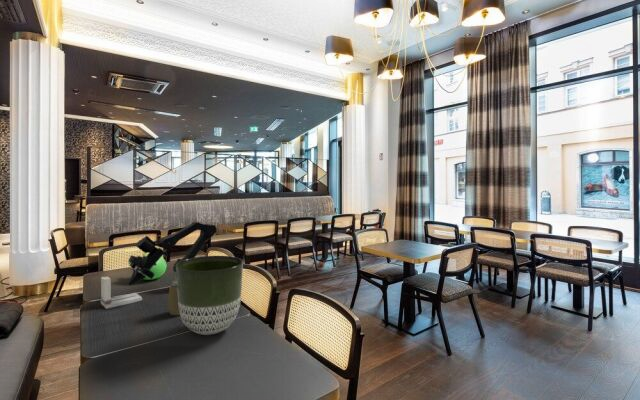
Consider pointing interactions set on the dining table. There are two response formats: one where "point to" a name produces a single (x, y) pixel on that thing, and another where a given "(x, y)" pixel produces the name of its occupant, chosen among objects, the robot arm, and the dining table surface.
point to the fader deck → (122, 300)
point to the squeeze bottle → (173, 299)
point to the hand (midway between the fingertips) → (128, 284)
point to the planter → (209, 292)
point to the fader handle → (106, 290)
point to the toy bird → (156, 268)
